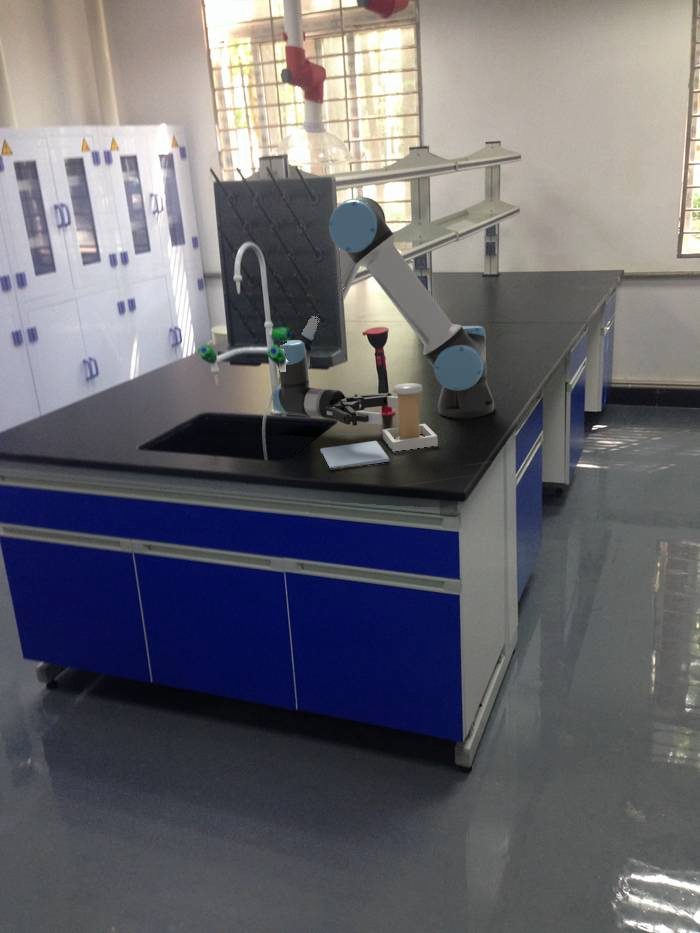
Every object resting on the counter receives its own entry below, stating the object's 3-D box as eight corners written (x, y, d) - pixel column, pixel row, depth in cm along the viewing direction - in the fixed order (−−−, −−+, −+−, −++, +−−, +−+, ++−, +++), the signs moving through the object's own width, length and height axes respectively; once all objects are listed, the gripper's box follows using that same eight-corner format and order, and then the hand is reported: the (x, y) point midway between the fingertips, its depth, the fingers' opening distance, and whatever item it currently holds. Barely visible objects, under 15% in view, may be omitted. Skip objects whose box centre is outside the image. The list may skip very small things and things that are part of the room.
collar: (425, 433, 211) (424, 423, 210) (437, 445, 201) (437, 436, 200) (383, 439, 209) (382, 429, 208) (393, 452, 199) (392, 442, 198)
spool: (420, 436, 209) (418, 382, 204) (426, 445, 202) (425, 388, 197) (393, 439, 208) (390, 384, 203) (398, 447, 201) (396, 391, 197)
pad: (376, 444, 206) (376, 440, 205) (389, 462, 193) (389, 458, 192) (320, 452, 204) (320, 448, 203) (330, 471, 191) (329, 466, 190)
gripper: (354, 404, 226) (422, 411, 214) (298, 431, 207) (369, 441, 196) (351, 377, 224) (420, 383, 212) (294, 402, 205) (366, 410, 193)
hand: (396, 411), depth 204 cm, fingers open, 13 cm apart
